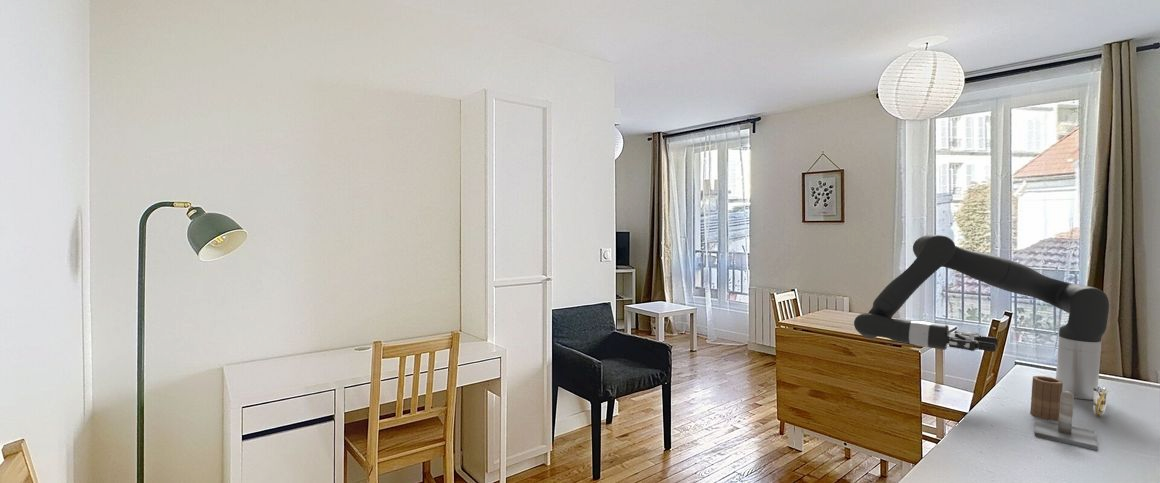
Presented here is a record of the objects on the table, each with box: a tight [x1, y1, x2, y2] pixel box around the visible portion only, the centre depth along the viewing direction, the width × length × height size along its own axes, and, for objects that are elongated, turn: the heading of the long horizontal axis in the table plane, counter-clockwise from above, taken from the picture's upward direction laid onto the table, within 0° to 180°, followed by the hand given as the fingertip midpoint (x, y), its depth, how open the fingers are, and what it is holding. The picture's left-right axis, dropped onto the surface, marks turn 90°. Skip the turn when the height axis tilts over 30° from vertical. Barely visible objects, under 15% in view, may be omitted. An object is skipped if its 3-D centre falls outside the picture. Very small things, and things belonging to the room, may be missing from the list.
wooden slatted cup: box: [1030, 375, 1063, 421], centre depth 140 cm, size 6×6×10 cm
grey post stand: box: [1034, 391, 1099, 451], centre depth 128 cm, size 11×11×11 cm
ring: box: [1092, 385, 1110, 417], centre depth 141 cm, size 7×3×8 cm, turn 117°
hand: (996, 344), depth 147 cm, fingers open, 8 cm apart
